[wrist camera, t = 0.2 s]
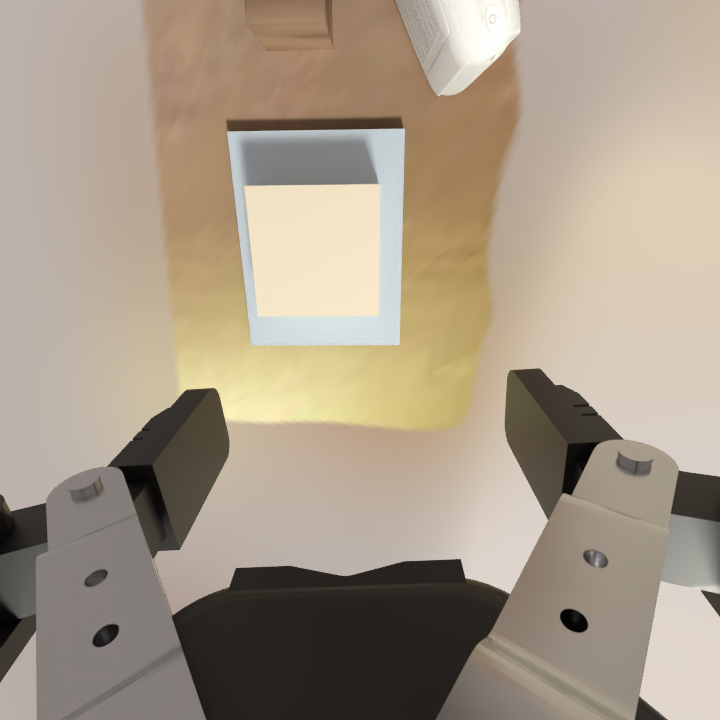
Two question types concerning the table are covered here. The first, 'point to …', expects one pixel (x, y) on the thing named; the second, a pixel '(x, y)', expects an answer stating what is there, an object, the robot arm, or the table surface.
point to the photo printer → (458, 37)
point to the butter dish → (320, 234)
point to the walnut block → (291, 24)
